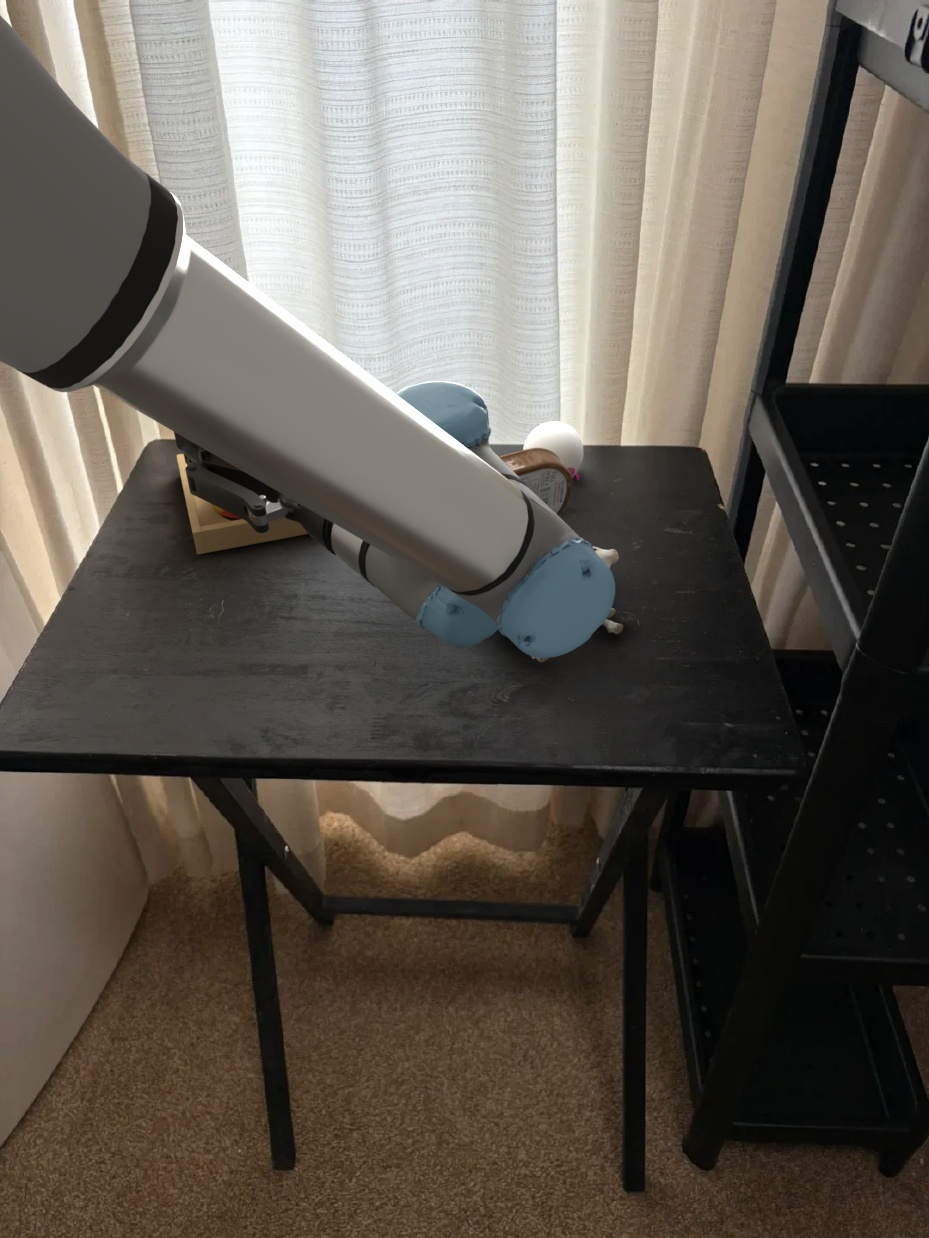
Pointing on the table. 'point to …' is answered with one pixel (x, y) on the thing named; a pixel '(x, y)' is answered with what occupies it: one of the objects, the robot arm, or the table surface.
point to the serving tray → (227, 524)
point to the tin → (542, 475)
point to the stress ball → (558, 443)
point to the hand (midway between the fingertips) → (223, 415)
